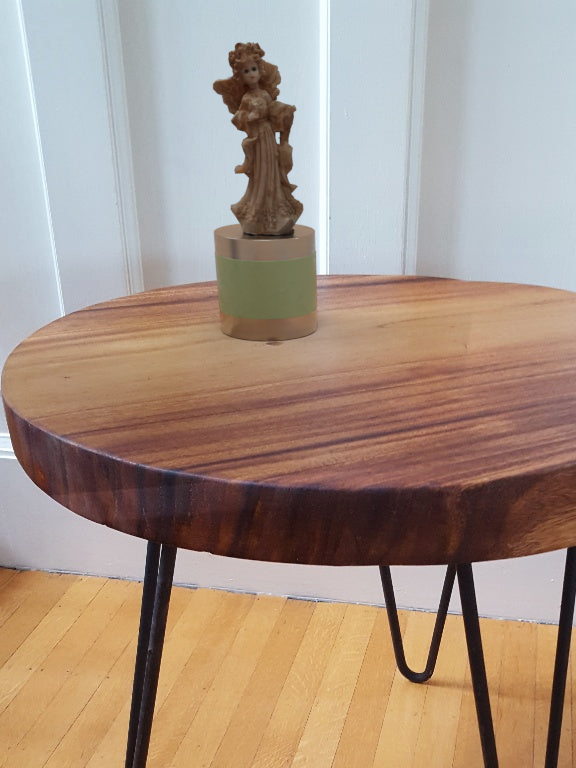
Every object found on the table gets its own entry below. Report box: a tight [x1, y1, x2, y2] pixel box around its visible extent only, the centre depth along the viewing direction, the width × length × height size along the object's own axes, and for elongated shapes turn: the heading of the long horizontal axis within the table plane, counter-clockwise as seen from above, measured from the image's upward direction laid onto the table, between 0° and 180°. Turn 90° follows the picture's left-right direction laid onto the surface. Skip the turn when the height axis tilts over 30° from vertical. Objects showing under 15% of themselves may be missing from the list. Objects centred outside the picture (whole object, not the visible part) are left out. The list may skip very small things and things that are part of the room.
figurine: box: [212, 41, 304, 235], centre depth 87 cm, size 7×6×15 cm
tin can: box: [213, 223, 318, 342], centre depth 93 cm, size 10×10×9 cm
